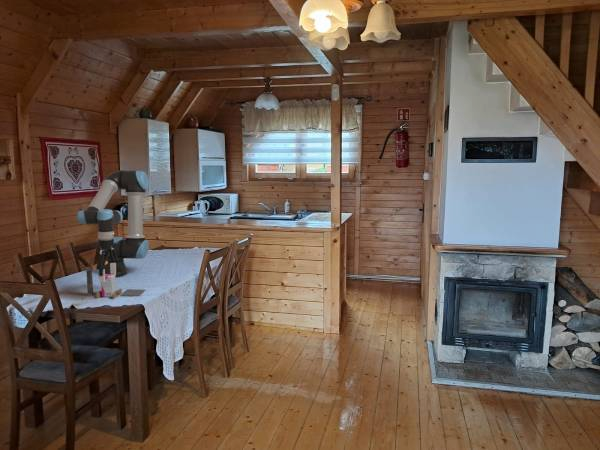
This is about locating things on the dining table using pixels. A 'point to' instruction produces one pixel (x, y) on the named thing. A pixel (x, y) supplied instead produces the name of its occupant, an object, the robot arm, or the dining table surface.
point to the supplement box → (108, 285)
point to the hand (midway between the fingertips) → (107, 278)
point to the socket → (90, 291)
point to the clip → (93, 267)
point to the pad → (132, 292)
